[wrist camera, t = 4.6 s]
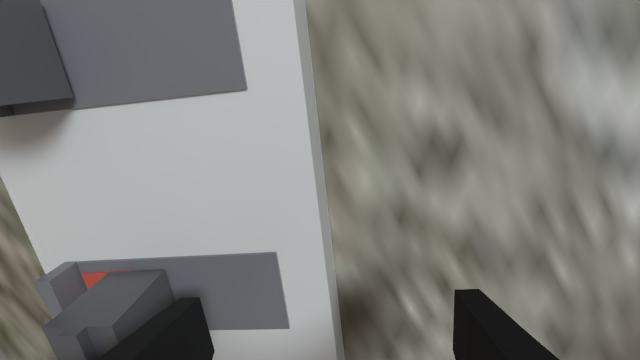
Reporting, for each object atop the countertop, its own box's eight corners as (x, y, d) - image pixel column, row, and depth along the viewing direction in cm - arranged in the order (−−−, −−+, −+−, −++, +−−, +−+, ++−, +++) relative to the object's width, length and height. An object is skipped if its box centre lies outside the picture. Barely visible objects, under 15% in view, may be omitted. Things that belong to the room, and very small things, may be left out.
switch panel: (-10, -47, 10) (-188, -104, 7) (293, -105, 9) (258, -209, 6) (173, 437, 18) (131, 525, 14) (354, 442, 16) (355, 540, 13)
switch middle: (108, 272, 11) (31, 336, 8) (163, 270, 10) (102, 335, 8) (130, 329, 11) (66, 404, 9) (182, 328, 11) (132, 405, 9)
